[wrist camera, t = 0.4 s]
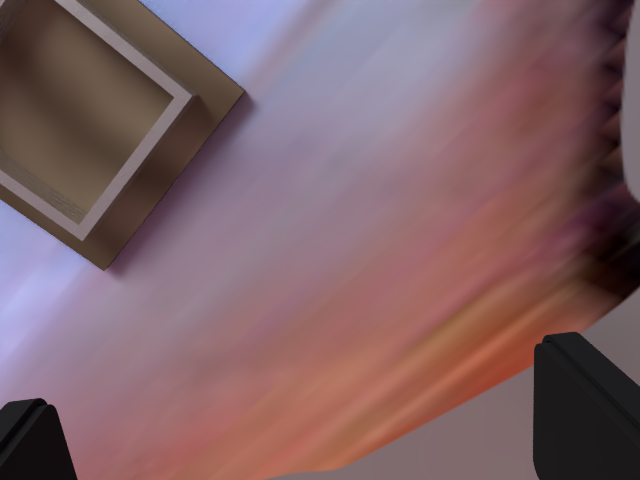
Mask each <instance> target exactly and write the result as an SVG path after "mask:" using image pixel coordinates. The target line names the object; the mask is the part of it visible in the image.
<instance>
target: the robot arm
mask: <svg viewBox="0 0 640 480" xmlns="http://www.w3.org/2000/svg"><path fill="white" fill-rule="evenodd" d="M533 420H534V421H533V462H534V466H535V470H536V473H537V476H538V478H539V479H540V480H640V386H638V385H637V384H636V383H635V382H634V381H633V380H631V379H630V378H629V377H628V376H627V375H626V374H625V373H624V372H622V371H621V370H620V369H619V368H618V367H617V366H615V365H614V364H613V363H612V362H611V361H610V360H609V359H608V358H606V357H605V356H604V355H603V354H602V353H601V352H600V351H598V350H597V349H596V348H595V347H594V346H593V345H592V344H590V343H589V342H588V341H587V340H586V339H585V338H583V337H582V336H581V335H580V334H579V333H577V332H568V333H560V334H552V335H546V336H545V337H544V338H543V341H542V343H540V344H537V345H536V346H535V349H534V417H533ZM0 480H77V476H76V473H75V470H74V466H73V463H72V460H71V456H70V453H69V450H68V446H67V443H66V440H65V436H64V433H63V430H62V426H61V423H60V420H59V416H58V413H57V410H56V408H55V407H54V406H53V405H51V404H50V405H47V403H46V401H45V400H44V399H41V398H37V399H29V400H21V401H13V402H8V403H7V404H6V405H5V406H4V407H3V408H2V409H1V410H0Z"/></svg>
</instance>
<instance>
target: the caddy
mask: <svg viewBox="0 0 640 480" xmlns="http://www.w3.org/2000/svg"><path fill="white" fill-rule="evenodd" d="M244 92H245V90H244V89H243V88H242V87H241V86H239V85H238V84H237V83H236V82H235V81H233V80H232V79H231V78H230V77H229V76H228V75H226V74H225V73H224V72H223V71H222V70H220V69H219V68H218V67H217V66H216V65H215V64H213V63H212V62H211V61H210V60H209V59H207V58H206V57H205V56H204V55H203V54H202V53H200V52H199V51H198V50H197V49H196V48H194V47H193V46H192V45H191V44H190V43H188V42H187V41H186V40H185V39H184V38H183V37H181V36H180V35H179V34H178V33H177V32H175V31H174V30H173V29H172V28H171V27H170V26H168V25H167V24H166V23H165V22H164V21H162V20H161V19H160V18H159V17H158V16H157V15H155V14H154V13H153V12H152V11H151V10H149V9H148V8H147V7H146V6H145V5H143V4H142V3H141V2H140V1H139V0H0V199H1V200H3V201H4V202H5V203H7V204H8V205H10V206H11V207H13V208H14V209H15V210H17V211H18V212H20V213H21V214H23V215H24V216H26V217H27V218H28V219H30V220H31V221H33V222H34V223H36V224H37V225H38V226H40V227H41V228H43V229H44V230H46V231H47V232H49V233H50V234H51V235H53V236H54V237H56V238H57V239H59V240H60V241H61V242H63V243H64V244H66V245H67V246H69V247H70V248H72V249H73V250H74V251H76V252H77V253H79V254H80V255H82V256H83V257H84V258H86V259H87V260H89V261H90V262H92V263H93V264H95V265H96V266H97V267H99V268H100V269H102V270H103V271H105V270H106V269H107V268H108V267H109V266H110V264H111V263H112V262H113V261H114V259H115V258H116V257H117V255H118V254H119V253H120V252H121V250H122V249H123V248H124V246H125V245H126V244H127V243H128V241H129V240H130V239H131V237H132V236H133V235H134V234H135V232H136V231H137V230H138V228H139V227H140V226H141V225H142V223H143V222H144V221H145V219H146V218H147V217H148V216H149V214H150V213H151V212H152V210H153V209H154V208H155V207H156V205H157V204H158V203H159V201H160V200H161V199H162V198H163V196H164V195H165V194H166V192H167V191H168V190H169V189H170V187H171V186H172V185H173V183H174V182H175V181H176V180H177V178H178V177H179V176H180V174H181V173H182V172H183V171H184V169H185V168H186V167H187V165H188V164H189V163H190V162H191V160H192V159H193V158H194V156H195V155H196V154H197V153H198V151H199V150H200V149H201V147H202V146H203V145H204V144H205V142H206V141H207V140H208V138H209V137H210V136H211V135H212V133H213V132H214V131H215V129H216V128H217V127H218V126H219V124H220V123H221V122H222V120H223V119H224V118H225V117H226V115H227V114H228V113H229V111H230V110H231V109H232V108H233V106H234V105H235V104H236V102H237V101H238V100H239V99H240V97H241V96H242V95H243V93H244Z"/></svg>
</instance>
